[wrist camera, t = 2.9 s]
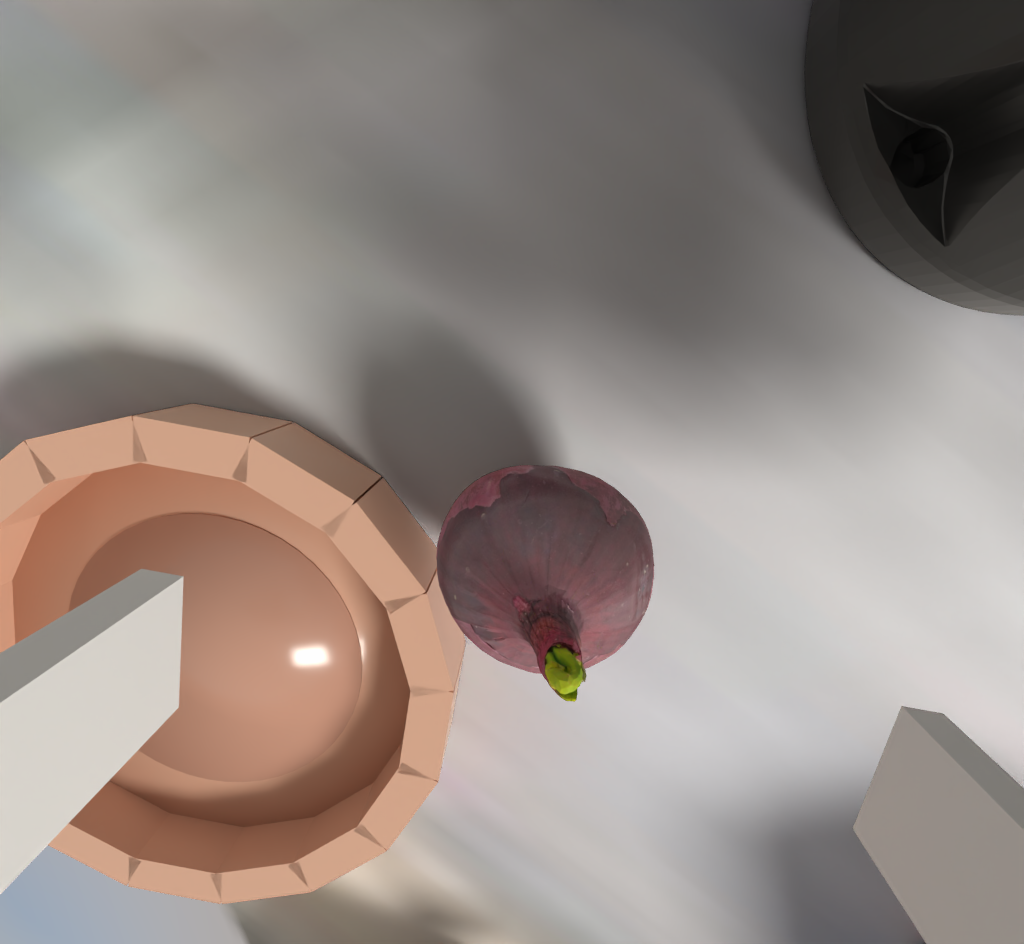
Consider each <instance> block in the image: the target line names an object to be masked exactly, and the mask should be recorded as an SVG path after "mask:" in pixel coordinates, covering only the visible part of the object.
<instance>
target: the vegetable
mask: <svg viewBox="0 0 1024 944" xmlns="http://www.w3.org/2000/svg"><path fill="white" fill-rule="evenodd" d="M436 559H437V576H438V582H439V587H440V589H441V592H442V595H443V597H444V600H445V603H446V605H447V607H448V609H449V611H450V613H451V615H452V617H453V619H454V620H455V622H456V623H457V625H458V626H459V628H460V629H461V631H462V632H463V633H464V634H465V635H466V636H467V637H468V638H469V639H470V640H471V641H472V642H473V643H474V644H475V645H476V646H477V647H479V648H480V649H481V650H482V651H484V652H485V653H487V654H489V655H490V656H492V657H493V658H495V659H496V660H498V661H500V662H502V663H505V664H508V665H511V666H514V667H516V668H519V669H522V670H525V671H528V672H533V673H541V674H542V675H543V677H544V678H545V679H546V680H547V682H548V684H549V685H550V687H551V688H552V689H553V690H554V691H555V692H556V693H557V694H558V695H559V696H560V697H561V698H562V699H564V700H566V701H575V700H576V698H577V688H578V687H579V686H580V684H581V682H583V681H584V682H585V679H586V672H585V668H589V667H591V666H593V665H595V664H597V663H599V662H600V661H602V660H604V659H606V658H608V657H609V656H611V655H612V654H614V653H615V652H616V651H617V650H619V649H620V648H621V647H622V646H623V645H624V644H625V643H626V641H627V640H628V639H629V638H630V636H631V635H632V634H633V632H634V631H635V629H636V628H637V626H638V625H639V623H640V621H641V620H642V618H643V616H644V614H645V612H646V610H647V608H648V604H649V601H650V598H651V593H652V586H653V578H654V560H653V549H652V542H651V538H650V535H649V532H648V529H647V527H646V524H645V522H644V520H643V519H642V517H641V515H640V514H639V512H638V511H637V510H636V508H635V507H634V506H633V505H632V504H631V503H630V502H629V501H628V500H627V499H626V498H625V497H624V496H623V495H622V494H621V493H620V492H619V491H617V490H616V489H615V488H614V487H612V486H611V485H609V484H607V483H606V482H604V481H603V480H601V479H599V478H597V477H595V476H593V475H590V474H587V473H584V472H582V471H578V470H573V469H568V468H563V467H558V466H539V465H520V466H514V467H508V468H503V469H501V470H498V471H495V472H492V473H489V474H487V475H485V476H483V477H481V478H479V479H478V480H476V481H475V482H473V483H472V484H471V485H470V486H469V487H467V488H466V489H465V490H464V491H463V492H462V493H461V494H460V496H459V497H458V498H457V500H456V501H455V502H454V504H453V506H452V507H451V509H450V511H449V513H448V515H447V516H446V518H445V521H444V523H443V525H442V529H441V532H440V536H439V540H438V544H437V554H436Z"/></svg>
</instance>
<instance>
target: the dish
mask: <svg viewBox="0 0 1024 944" xmlns="http://www.w3.org/2000/svg"><path fill="white" fill-rule="evenodd" d="M381 477H382V476H381V475H379V474H377V473H376V472H374V471H373V470H371V469H369V468H368V467H366V466H364V465H363V464H361V463H360V462H358V461H356V460H355V459H353V458H352V457H350V456H348V455H347V454H345V453H343V452H342V451H340V450H339V449H337V448H335V447H334V446H332V445H330V444H329V443H327V442H326V441H324V440H322V439H321V438H319V437H317V436H316V435H314V434H313V433H311V432H309V431H308V430H306V429H304V428H303V427H301V426H300V425H298V424H296V423H293V422H291V421H286V420H280V419H275V418H269V417H264V416H259V415H253V414H248V413H242V412H237V411H231V410H226V409H221V408H215V407H210V406H204V405H199V404H187V405H182V406H177V407H172V408H167V409H162V410H157V411H152V412H147V413H142V414H137V415H132V416H128V417H123V418H119V419H115V420H110V421H106V422H101V423H97V424H93V425H88V426H84V427H80V428H75V429H71V430H66V431H62V432H58V433H53V434H49V435H45V436H40V437H36V438H31V439H27V440H25V441H23V442H21V443H20V444H19V445H18V446H17V447H15V448H14V449H13V450H12V451H11V452H10V453H8V454H7V455H6V456H5V457H4V458H2V459H1V460H0V653H1V652H3V651H5V650H6V649H8V648H10V647H11V646H13V645H15V644H16V643H18V642H20V641H21V640H23V639H25V638H26V637H28V636H30V635H31V634H33V633H35V632H36V631H38V630H40V629H41V628H43V627H45V626H46V625H48V624H50V623H51V622H53V621H55V620H56V619H58V618H60V617H61V616H63V615H65V614H67V613H68V612H70V611H72V610H73V609H75V608H77V607H78V606H80V605H82V604H83V603H85V602H87V601H88V600H90V599H92V598H93V597H95V596H97V595H98V594H100V593H102V592H103V591H105V590H107V589H108V588H110V587H112V586H113V585H115V584H117V583H118V582H120V581H122V580H123V579H125V578H127V577H128V576H130V575H132V574H133V573H135V572H137V571H139V570H140V569H146V570H151V571H157V572H162V573H168V574H173V575H179V576H184V578H183V605H182V633H181V660H180V688H179V708H178V709H177V710H176V711H175V712H174V713H173V714H172V715H171V716H170V717H169V718H168V719H167V720H166V721H165V722H164V723H163V725H162V726H161V727H160V728H159V729H158V730H157V731H156V732H155V733H154V734H153V735H152V736H151V737H150V738H149V739H148V740H147V741H146V742H145V743H144V744H143V746H142V747H141V748H140V749H139V750H138V751H137V752H136V753H135V754H134V755H133V756H132V757H131V758H130V759H129V760H128V761H127V762H126V763H125V764H124V765H123V767H122V768H121V769H120V770H119V771H118V772H117V773H116V774H115V775H114V776H113V777H112V778H111V779H110V780H109V781H108V782H107V783H106V784H105V785H104V786H103V787H102V789H101V790H100V791H99V792H98V793H97V794H96V795H95V796H94V797H93V798H92V799H91V800H90V801H89V802H88V803H87V804H86V805H85V806H84V807H83V808H82V810H81V811H80V812H79V813H78V814H77V815H76V816H75V817H74V818H73V819H72V820H71V821H70V822H69V823H68V824H67V825H66V826H65V827H64V828H63V829H62V831H61V832H60V833H59V834H58V835H57V836H56V837H55V838H54V839H53V840H52V841H51V842H50V843H49V844H48V845H49V846H51V847H52V848H54V849H56V850H58V851H60V852H62V853H64V854H66V855H68V856H70V857H72V858H74V859H76V860H78V861H79V862H82V863H83V864H85V865H87V866H89V867H91V868H93V869H95V870H97V871H99V872H101V873H103V874H105V875H106V876H108V877H110V878H112V879H114V880H116V881H118V882H120V883H122V884H124V885H127V884H128V883H129V887H134V888H139V889H144V890H149V891H155V892H160V893H166V894H171V895H176V896H181V897H187V898H192V899H197V900H202V901H207V902H213V903H218V904H220V903H221V902H222V904H227V903H234V902H242V901H249V900H257V899H265V898H272V897H280V896H287V895H295V894H303V893H310V892H311V891H312V892H313V891H315V890H317V889H318V888H320V887H322V886H324V885H326V884H327V883H329V882H331V881H333V880H335V879H337V878H338V877H340V876H342V875H344V874H346V873H348V872H349V871H351V870H353V869H355V868H357V867H358V866H360V865H362V864H364V863H366V862H368V861H369V860H371V859H373V858H375V857H377V856H379V855H380V854H382V853H384V852H386V851H387V850H388V849H389V848H390V846H391V845H392V844H393V842H394V841H395V840H396V838H397V837H398V836H399V834H400V833H401V832H402V830H403V829H404V828H405V826H406V825H407V823H408V822H409V821H410V819H411V818H412V817H413V815H414V814H415V813H416V811H417V810H418V809H419V807H420V806H421V805H422V803H423V802H424V800H425V799H426V798H427V796H428V795H429V794H430V792H431V791H432V790H433V788H434V787H435V786H436V784H437V783H438V781H439V776H440V772H441V767H442V763H443V759H444V754H445V750H446V746H447V741H448V737H449V733H450V728H451V724H452V719H453V713H454V707H455V702H456V696H457V690H458V685H459V679H460V673H461V667H462V662H463V656H464V650H465V645H466V644H465V642H466V641H465V637H464V634H463V632H462V631H461V629H460V628H459V626H458V625H457V623H456V622H455V620H454V619H453V617H452V615H451V613H450V611H449V609H448V607H447V605H446V603H445V600H444V597H443V595H442V592H441V589H440V587H439V582H438V576H437V559H436V554H437V547H436V546H435V545H434V543H433V542H432V541H431V539H430V538H429V537H428V536H427V534H426V533H425V532H424V530H423V529H422V528H421V526H420V525H419V524H418V522H417V521H416V520H415V519H414V517H413V516H412V515H411V513H410V512H409V511H408V509H407V508H406V507H405V505H404V504H403V503H402V501H401V500H400V499H399V498H398V496H397V495H396V494H395V492H394V491H393V490H392V488H391V487H390V486H389V484H388V483H387V482H386V480H385V479H384V478H382V479H381V480H380V478H381Z"/></svg>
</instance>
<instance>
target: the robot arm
mask: <svg viewBox="0 0 1024 944" xmlns="http://www.w3.org/2000/svg"><path fill="white" fill-rule="evenodd" d="M805 90H806V105H807V114H808V122H809V127H810V133H811V138H812V143H813V147H814V150H815V154H816V158H817V161H818V164H819V167H820V170H821V173H822V176H823V179H824V181H825V183H826V185H827V188H828V190H829V192H830V195H831V197H832V199H833V200H834V202H835V204H836V206H837V208H838V210H839V212H840V213H841V215H842V216H843V218H844V219H845V221H846V223H847V224H848V226H849V227H850V229H851V230H852V231H853V232H854V234H855V235H856V236H857V238H858V239H859V240H860V241H861V243H862V244H863V245H864V246H865V247H866V248H867V249H868V250H869V251H870V252H871V253H872V254H873V256H875V257H876V258H877V259H878V260H879V261H880V262H881V263H882V264H883V265H885V266H886V267H887V268H888V269H889V270H891V271H892V272H893V273H895V274H896V275H897V276H899V277H900V278H901V279H903V280H905V281H906V282H908V283H909V284H911V285H913V286H914V287H916V288H918V289H920V290H922V291H924V292H926V293H928V294H929V295H931V296H934V297H936V298H939V299H941V300H944V301H946V302H949V303H952V304H955V305H958V306H961V307H965V308H969V309H973V310H978V311H982V312H989V313H996V314H1004V315H1020V316H1022V315H1024V0H813V5H812V10H811V16H810V22H809V28H808V36H807V46H806V61H805ZM183 578H184V576H179V575H173V574H168V573H162V572H157V571H151V570H146V569H140V570H139V571H137V572H135V573H133V574H132V575H130V576H128V577H127V578H125V579H123V580H122V581H120V582H118V583H117V584H115V585H113V586H112V587H110V588H108V589H107V590H105V591H103V592H102V593H100V594H98V595H97V596H95V597H93V598H92V599H90V600H88V601H87V602H85V603H83V604H82V605H80V606H78V607H77V608H75V609H73V610H72V611H70V612H68V613H67V614H65V615H63V616H61V617H60V618H58V619H56V620H55V621H53V622H51V623H50V624H48V625H46V626H45V627H43V628H41V629H40V630H38V631H36V632H35V633H33V634H31V635H30V636H28V637H26V638H25V639H23V640H21V641H20V642H18V643H16V644H15V645H13V646H11V647H10V648H8V649H6V650H5V651H3V652H1V653H0V894H1V893H2V892H3V891H4V890H5V889H6V888H7V887H8V886H9V885H10V884H11V883H12V882H13V881H14V880H15V879H16V878H17V876H19V874H20V873H21V872H22V871H23V870H24V869H25V868H26V867H27V866H28V865H29V864H30V863H31V862H32V861H33V860H34V859H35V858H36V857H37V856H38V855H39V854H40V853H41V851H42V850H43V849H44V848H45V847H46V846H47V845H48V844H49V843H50V842H51V841H52V840H53V839H54V838H55V837H56V836H57V835H58V834H59V833H60V832H61V831H62V829H63V828H64V827H65V826H66V825H67V824H68V823H69V822H70V821H71V820H72V819H73V818H74V817H75V816H76V815H77V814H78V813H79V812H80V811H81V810H82V808H83V807H84V806H85V805H86V804H87V803H88V802H89V801H90V800H91V799H92V798H93V797H94V796H95V795H96V794H97V793H98V792H99V791H100V790H101V789H102V787H103V786H104V785H105V784H106V783H107V782H108V781H109V780H110V779H111V778H112V777H113V776H114V775H115V774H116V773H117V772H118V771H119V770H120V769H121V768H122V767H123V765H124V764H125V763H126V762H127V761H128V760H129V759H130V758H131V757H132V756H133V755H134V754H135V753H136V752H137V751H138V750H139V749H140V748H141V747H142V746H143V744H144V743H145V742H146V741H147V740H148V739H149V738H150V737H151V736H152V735H153V734H154V733H155V732H156V731H157V730H158V729H159V728H160V727H161V726H162V725H163V723H164V722H165V721H166V720H167V719H168V718H169V717H170V716H171V715H172V714H173V713H174V712H175V711H176V710H177V709H178V708H179V688H180V660H181V633H182V605H183ZM853 830H854V832H855V833H856V835H857V836H858V838H859V840H860V841H861V843H862V844H863V846H864V847H865V849H866V851H867V852H868V854H869V855H870V857H871V858H872V860H873V861H874V863H875V865H876V866H877V868H878V869H879V871H880V872H881V874H882V875H883V877H884V879H885V880H886V882H887V883H888V885H889V886H890V888H891V890H892V891H893V893H894V894H895V896H896V897H897V899H898V900H899V902H900V904H901V905H902V907H903V908H904V910H905V911H906V913H907V915H908V916H909V918H910V919H911V921H912V922H913V924H914V925H915V927H916V929H917V930H918V932H919V933H920V935H921V936H922V938H923V939H924V941H925V943H926V944H1024V788H1023V787H1021V786H1020V785H1019V784H1018V783H1017V782H1016V781H1015V780H1014V779H1013V778H1012V777H1011V776H1010V775H1009V774H1008V773H1006V772H1005V771H1004V770H1003V769H1002V768H1001V767H1000V766H999V765H998V764H997V763H996V762H995V761H994V760H992V759H991V758H990V757H989V756H988V755H987V754H986V753H985V752H984V751H983V750H982V749H981V748H980V747H979V746H977V745H976V744H975V743H974V742H973V741H972V740H971V739H970V738H969V737H968V736H967V735H966V734H965V733H964V732H962V731H961V730H960V729H959V728H958V727H957V726H956V725H955V724H954V723H953V722H952V721H951V720H950V719H948V718H947V717H946V716H945V715H944V714H942V713H937V712H931V711H926V710H920V709H915V708H909V707H904V706H901V709H900V711H899V714H898V716H897V719H896V721H895V724H894V726H893V729H892V731H891V734H890V736H889V739H888V741H887V744H886V746H885V749H884V751H883V754H882V756H881V759H880V761H879V764H878V766H877V769H876V771H875V774H874V776H873V779H872V781H871V784H870V786H869V789H868V791H867V794H866V796H865V799H864V801H863V804H862V806H861V809H860V811H859V814H858V816H857V819H856V821H855V824H854V826H853Z"/></svg>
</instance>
